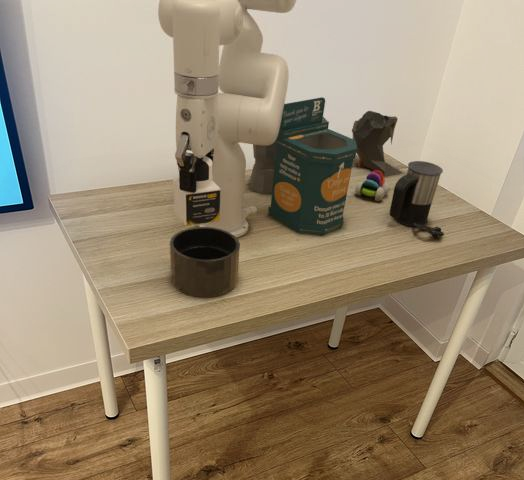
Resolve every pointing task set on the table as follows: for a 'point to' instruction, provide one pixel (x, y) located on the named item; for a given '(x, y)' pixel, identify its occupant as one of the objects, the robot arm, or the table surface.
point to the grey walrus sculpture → (374, 141)
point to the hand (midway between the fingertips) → (196, 182)
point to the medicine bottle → (198, 196)
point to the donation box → (310, 170)
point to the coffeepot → (263, 168)
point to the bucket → (204, 261)
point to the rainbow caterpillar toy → (373, 186)
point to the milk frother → (416, 196)
